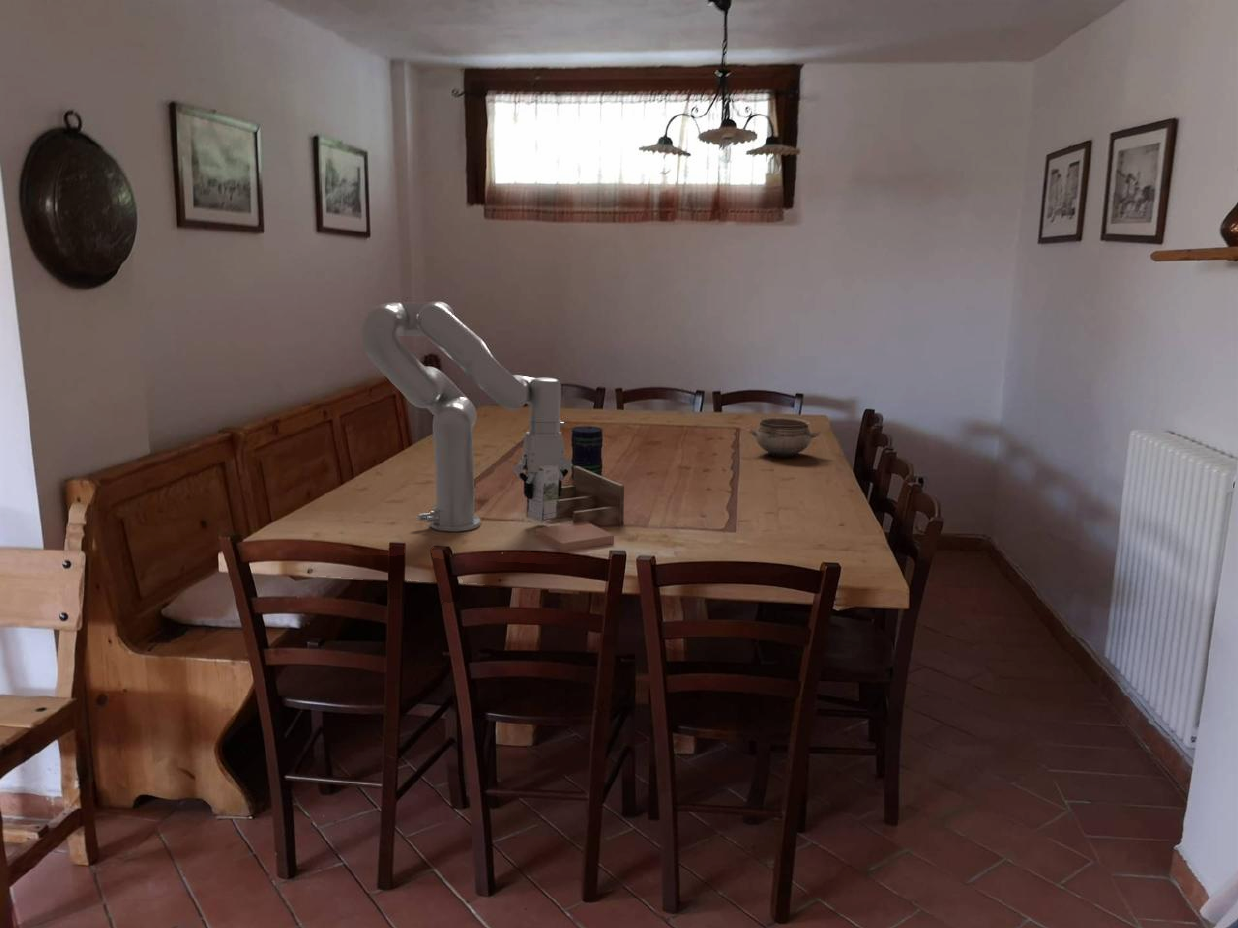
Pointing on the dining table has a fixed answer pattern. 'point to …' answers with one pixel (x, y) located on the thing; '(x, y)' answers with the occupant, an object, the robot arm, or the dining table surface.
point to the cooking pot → (783, 435)
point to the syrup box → (544, 494)
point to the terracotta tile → (574, 536)
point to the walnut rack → (592, 499)
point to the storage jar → (587, 449)
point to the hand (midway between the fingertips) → (542, 495)
